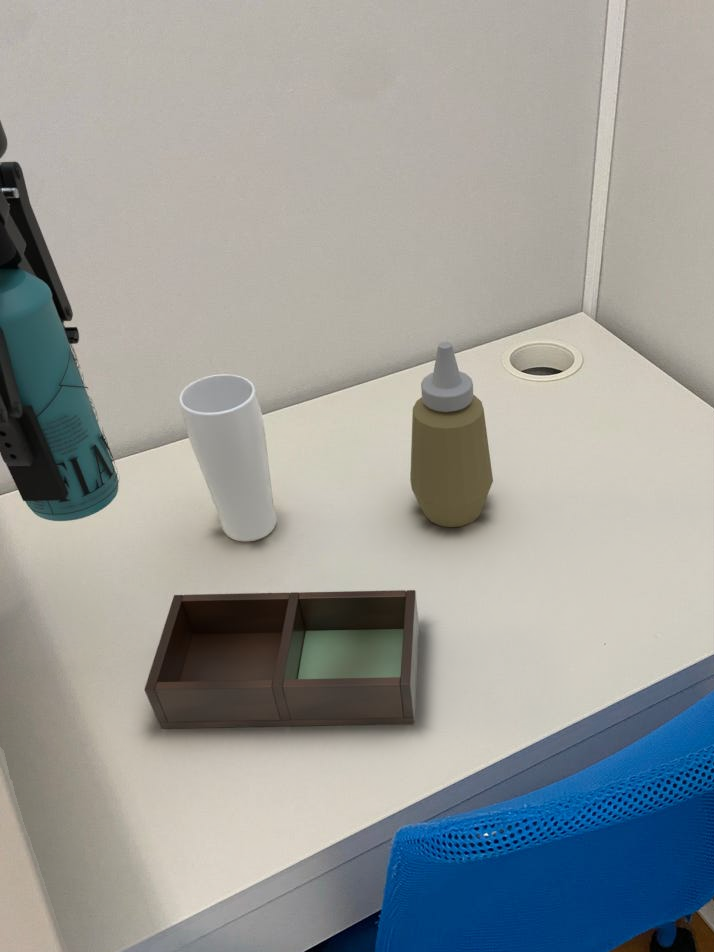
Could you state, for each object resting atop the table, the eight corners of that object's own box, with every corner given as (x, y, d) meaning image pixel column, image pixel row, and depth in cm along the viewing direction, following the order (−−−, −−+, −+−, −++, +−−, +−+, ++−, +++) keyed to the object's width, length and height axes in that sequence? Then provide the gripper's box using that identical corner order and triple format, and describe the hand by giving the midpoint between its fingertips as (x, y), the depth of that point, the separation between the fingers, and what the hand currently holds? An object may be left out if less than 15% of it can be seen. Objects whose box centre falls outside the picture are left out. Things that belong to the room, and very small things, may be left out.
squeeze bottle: (472, 544, 90) (467, 377, 77) (398, 523, 92) (381, 357, 80) (506, 497, 95) (506, 332, 82) (435, 478, 98) (424, 315, 85)
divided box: (160, 728, 75) (143, 689, 72) (187, 634, 82) (173, 594, 79) (414, 723, 75) (410, 684, 71) (419, 629, 82) (415, 589, 79)
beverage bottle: (70, 553, 62) (-60, 255, 48) (13, 517, 65) (-125, 226, 51) (148, 505, 66) (49, 214, 52) (91, 472, 69) (-17, 189, 55)
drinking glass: (208, 549, 90) (168, 414, 79) (224, 505, 95) (188, 372, 84) (278, 549, 90) (247, 414, 79) (290, 505, 95) (263, 372, 84)
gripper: (-109, 143, 39) (75, 558, 56) (40, 25, 53) (152, 389, 69) (-284, 148, 40) (-49, 560, 56) (-92, 29, 53) (52, 391, 70)
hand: (62, 465), depth 63 cm, fingers closed on beverage bottle, 6 cm apart
